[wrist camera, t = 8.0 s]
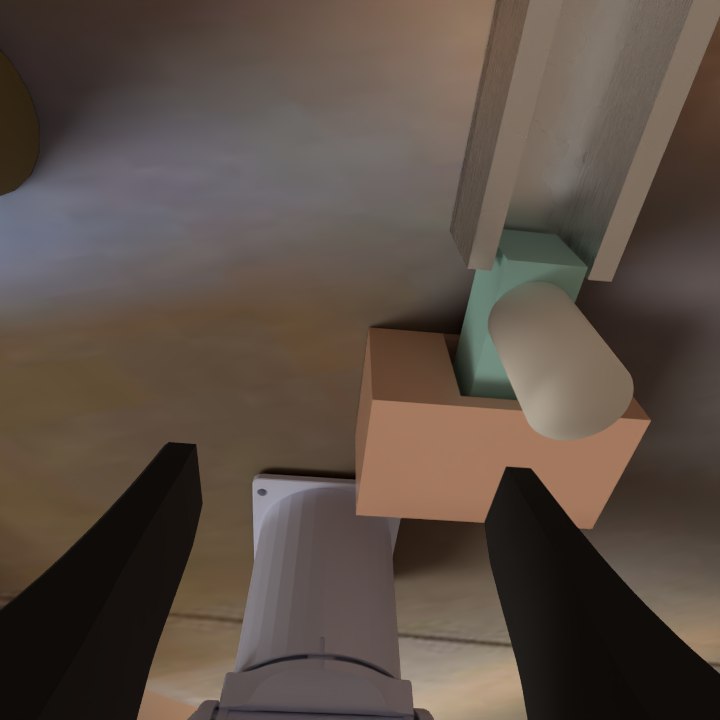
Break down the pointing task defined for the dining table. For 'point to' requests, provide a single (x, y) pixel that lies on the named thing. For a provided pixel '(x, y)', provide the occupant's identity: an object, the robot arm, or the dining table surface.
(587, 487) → the socket block
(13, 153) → the cork
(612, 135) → the grey u-channel
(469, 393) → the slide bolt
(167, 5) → the dining table surface
